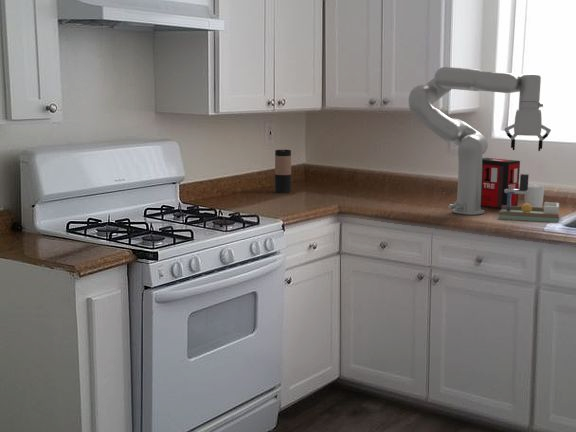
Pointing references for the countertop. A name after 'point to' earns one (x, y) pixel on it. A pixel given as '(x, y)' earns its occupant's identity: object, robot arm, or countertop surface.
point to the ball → (526, 207)
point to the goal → (551, 208)
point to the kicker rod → (522, 189)
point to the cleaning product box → (499, 182)
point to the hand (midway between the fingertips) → (526, 150)
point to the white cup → (535, 195)
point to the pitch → (527, 214)
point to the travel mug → (282, 171)
